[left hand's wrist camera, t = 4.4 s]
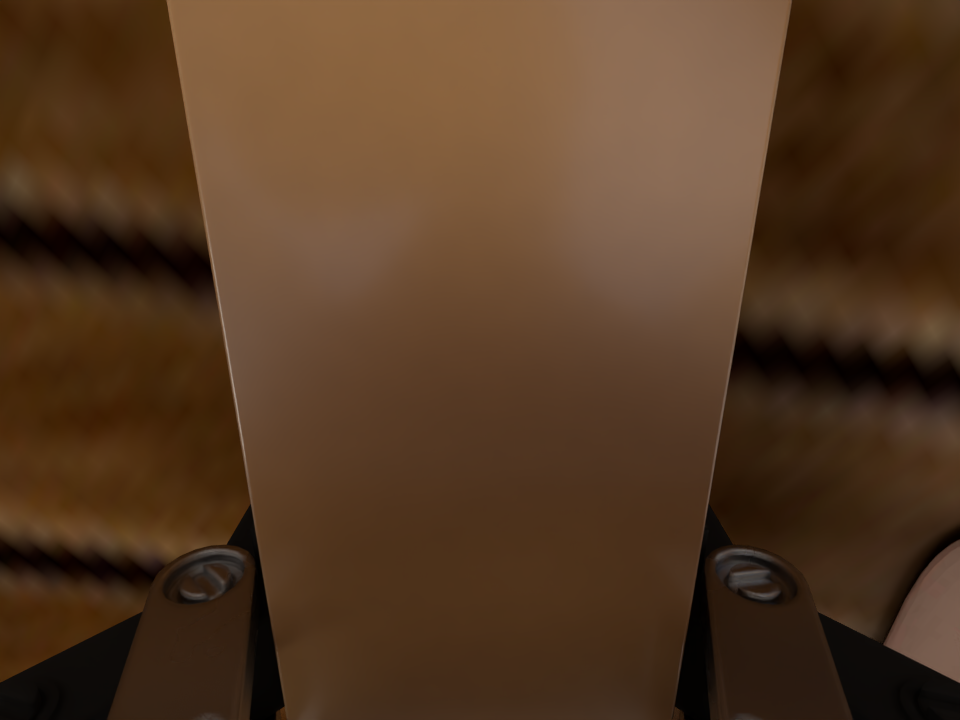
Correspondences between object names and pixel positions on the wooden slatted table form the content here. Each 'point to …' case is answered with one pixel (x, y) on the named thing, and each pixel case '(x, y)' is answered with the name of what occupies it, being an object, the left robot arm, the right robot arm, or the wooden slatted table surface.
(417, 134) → the bar
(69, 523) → the wooden slatted table surface
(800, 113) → the wooden slatted table surface
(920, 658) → the anatomical model
